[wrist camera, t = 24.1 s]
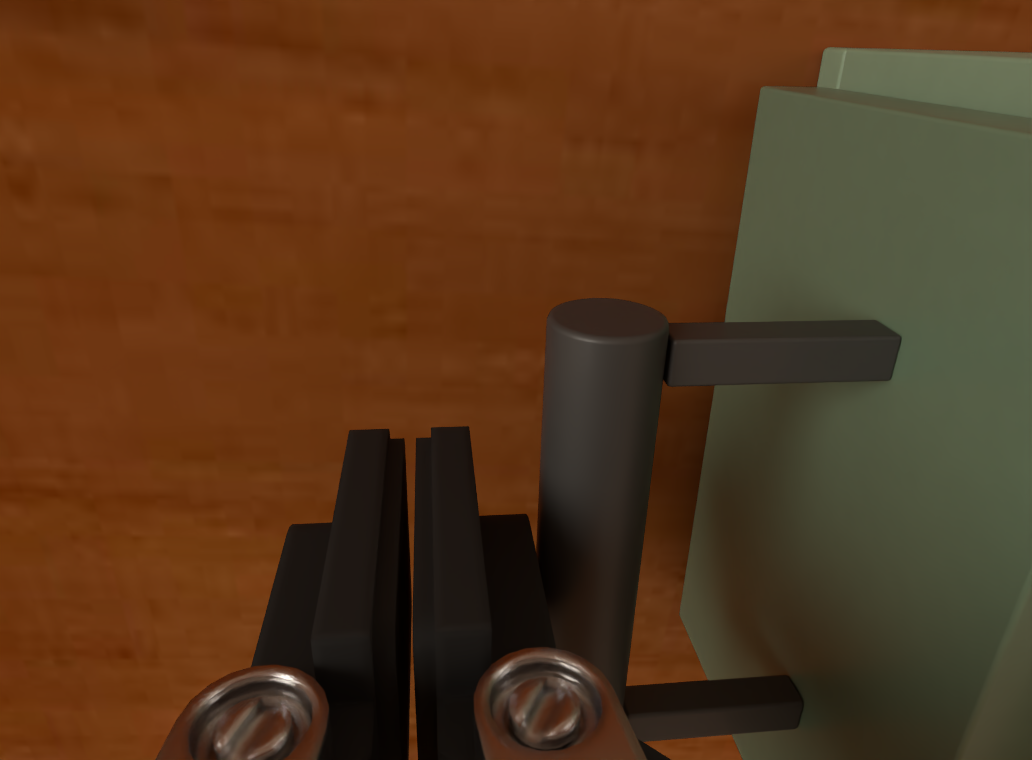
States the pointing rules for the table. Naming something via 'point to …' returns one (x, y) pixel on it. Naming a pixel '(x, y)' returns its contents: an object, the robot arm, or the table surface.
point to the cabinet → (935, 77)
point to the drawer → (824, 448)
